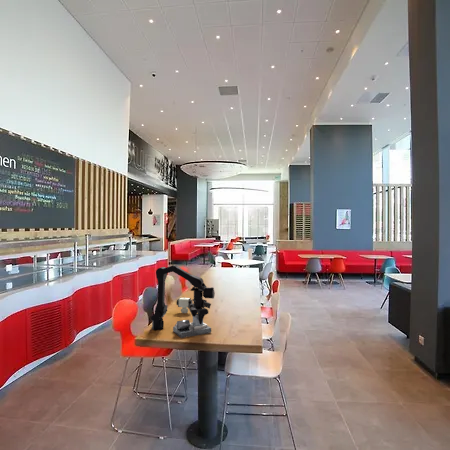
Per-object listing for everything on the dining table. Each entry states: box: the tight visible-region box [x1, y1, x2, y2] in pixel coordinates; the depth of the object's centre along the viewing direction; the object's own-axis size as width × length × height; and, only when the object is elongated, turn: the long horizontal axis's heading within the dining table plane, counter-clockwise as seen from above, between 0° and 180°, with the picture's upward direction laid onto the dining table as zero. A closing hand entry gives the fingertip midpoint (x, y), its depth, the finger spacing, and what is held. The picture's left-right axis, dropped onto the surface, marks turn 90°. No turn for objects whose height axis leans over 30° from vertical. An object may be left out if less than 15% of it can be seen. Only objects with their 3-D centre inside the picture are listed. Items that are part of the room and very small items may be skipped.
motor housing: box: [172, 319, 212, 339], centre depth 195 cm, size 21×14×8 cm, turn 120°
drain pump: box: [192, 315, 204, 326], centre depth 198 cm, size 5×5×7 cm
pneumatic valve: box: [175, 296, 194, 314], centre depth 241 cm, size 6×12×12 cm, turn 82°
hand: (197, 322), depth 198 cm, fingers open, 8 cm apart
